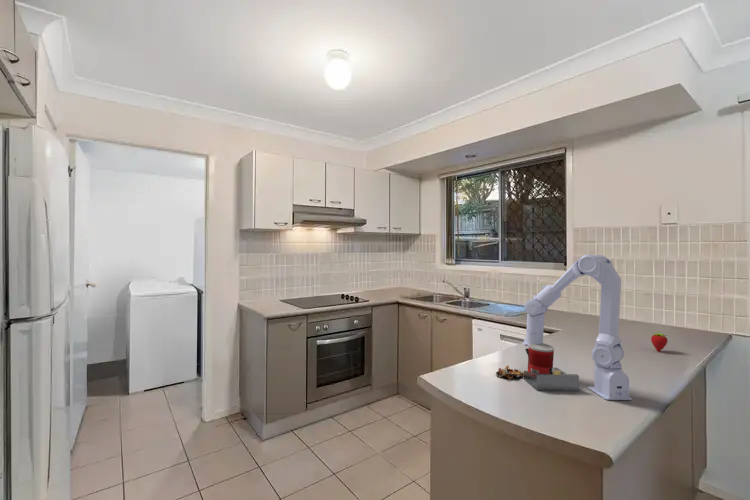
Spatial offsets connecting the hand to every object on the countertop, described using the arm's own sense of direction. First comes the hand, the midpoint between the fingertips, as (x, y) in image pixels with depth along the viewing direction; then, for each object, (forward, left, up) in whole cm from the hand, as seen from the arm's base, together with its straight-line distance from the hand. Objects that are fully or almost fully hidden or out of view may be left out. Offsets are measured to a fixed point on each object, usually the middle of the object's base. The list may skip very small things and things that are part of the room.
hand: (533, 368), depth 131 cm
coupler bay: (-10, 0, -2) cm, 10 cm away
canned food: (-5, 0, -1) cm, 5 cm away
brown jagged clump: (-3, +9, -2) cm, 10 cm away
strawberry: (+33, -71, -2) cm, 78 cm away
